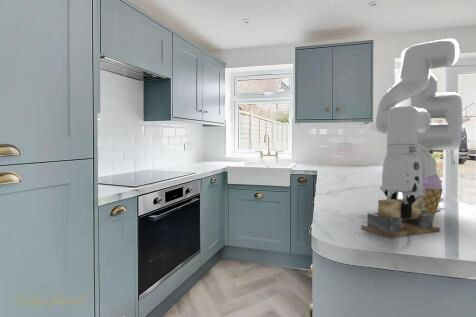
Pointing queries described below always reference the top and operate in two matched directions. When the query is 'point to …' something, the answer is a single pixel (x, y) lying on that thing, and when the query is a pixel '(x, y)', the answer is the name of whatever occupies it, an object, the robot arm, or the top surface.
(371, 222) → the rail
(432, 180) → the ice cream cone
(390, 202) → the beige rectangular block
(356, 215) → the top surface
